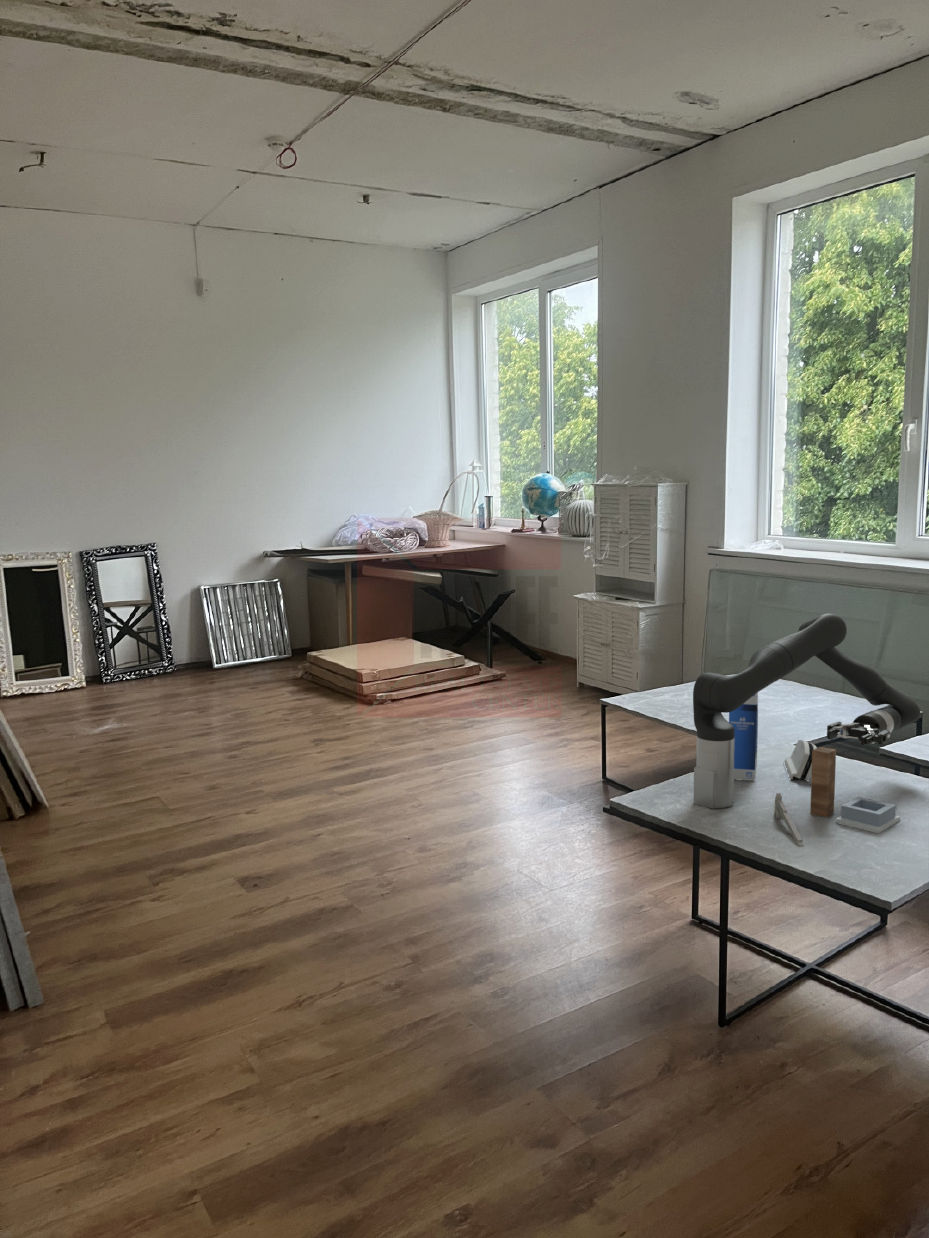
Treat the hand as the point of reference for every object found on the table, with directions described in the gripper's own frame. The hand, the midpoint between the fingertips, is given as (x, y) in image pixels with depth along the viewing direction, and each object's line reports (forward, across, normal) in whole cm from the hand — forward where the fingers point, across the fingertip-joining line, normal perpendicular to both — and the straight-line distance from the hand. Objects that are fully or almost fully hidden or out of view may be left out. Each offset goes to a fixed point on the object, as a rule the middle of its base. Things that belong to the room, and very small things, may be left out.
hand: (845, 738), depth 227 cm
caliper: (+28, 0, +17) cm, 32 cm away
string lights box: (-4, -31, +17) cm, 35 cm away
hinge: (-17, -20, +17) cm, 31 cm away
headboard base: (+10, +10, +16) cm, 22 cm away
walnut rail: (+12, 0, +16) cm, 20 cm away
